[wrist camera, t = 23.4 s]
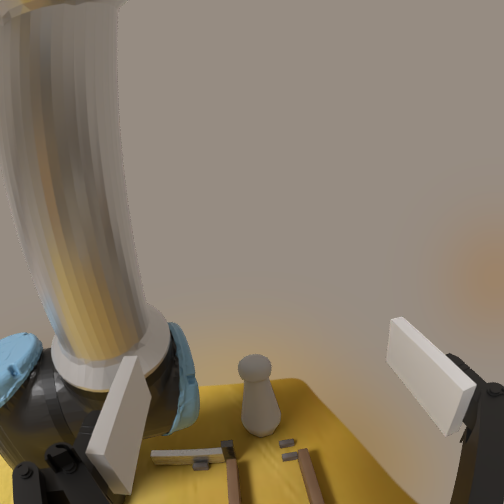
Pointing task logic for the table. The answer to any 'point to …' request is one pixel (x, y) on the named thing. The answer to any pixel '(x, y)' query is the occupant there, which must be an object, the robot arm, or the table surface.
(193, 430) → the table surface
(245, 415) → the salt shaker
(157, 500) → the table surface
